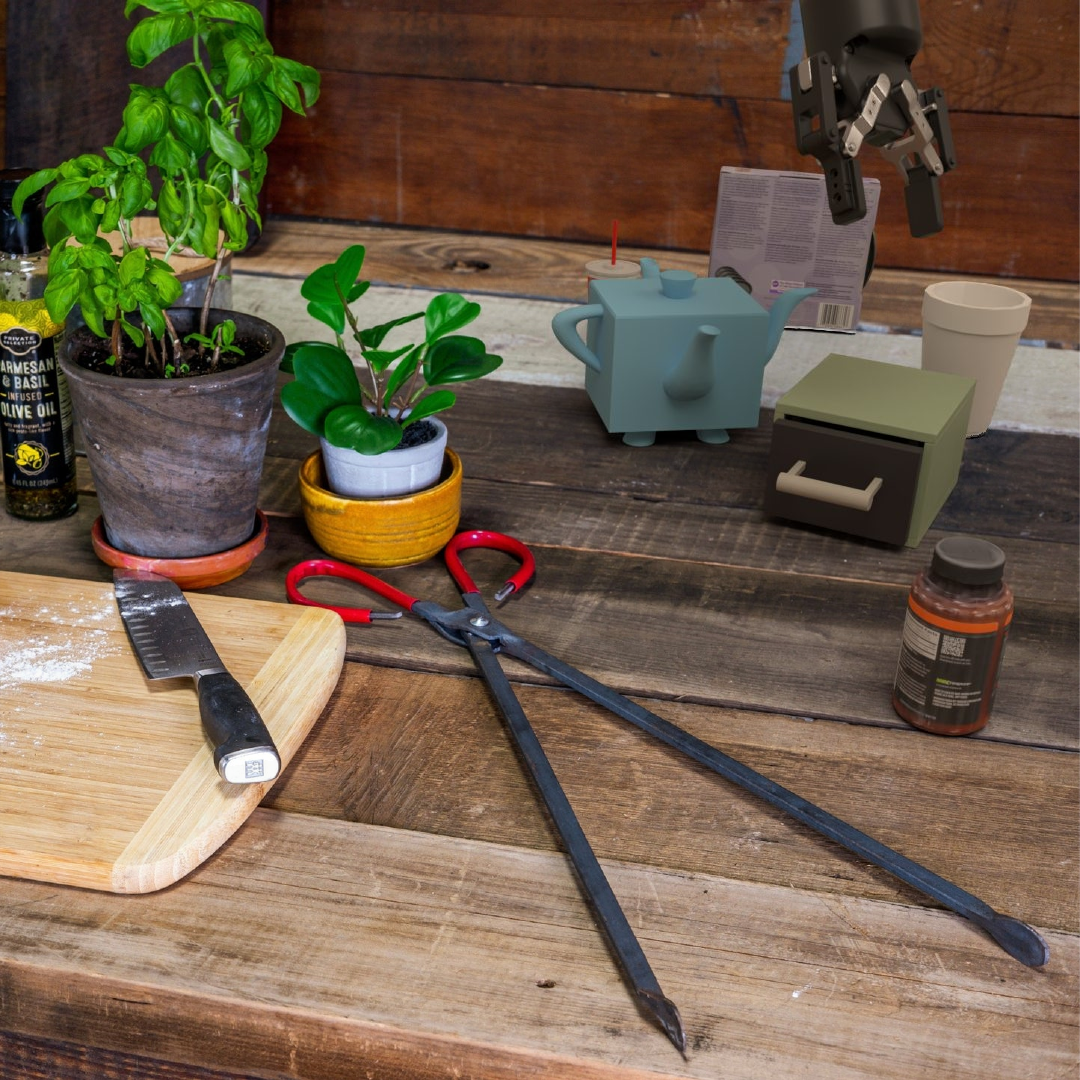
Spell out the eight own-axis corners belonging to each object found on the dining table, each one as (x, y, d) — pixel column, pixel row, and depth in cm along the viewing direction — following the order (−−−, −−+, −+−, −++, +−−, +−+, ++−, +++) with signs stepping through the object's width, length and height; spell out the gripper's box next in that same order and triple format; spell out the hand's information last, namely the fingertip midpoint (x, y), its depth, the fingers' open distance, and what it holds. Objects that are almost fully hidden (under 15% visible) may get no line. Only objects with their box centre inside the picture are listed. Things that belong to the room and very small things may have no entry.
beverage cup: (616, 358, 137) (623, 229, 131) (570, 346, 140) (575, 220, 134) (646, 344, 142) (655, 219, 135) (602, 333, 145) (608, 211, 139)
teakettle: (533, 430, 118) (537, 275, 111) (638, 377, 132) (647, 237, 125) (711, 482, 108) (726, 316, 102) (804, 419, 122) (823, 270, 115)
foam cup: (931, 447, 117) (955, 311, 111) (886, 411, 125) (907, 282, 119) (1023, 441, 119) (1052, 307, 113) (973, 407, 127) (998, 280, 121)
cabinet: (916, 549, 98) (937, 434, 94) (762, 512, 103) (775, 402, 99) (956, 483, 109) (977, 378, 105) (816, 453, 115) (830, 352, 110)
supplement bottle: (961, 682, 81) (994, 524, 76) (1007, 736, 76) (1046, 571, 71) (874, 688, 80) (902, 530, 75) (914, 744, 75) (947, 577, 70)
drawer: (887, 571, 92) (904, 475, 89) (741, 535, 97) (752, 441, 94) (943, 485, 107) (960, 398, 103) (814, 456, 112) (825, 373, 108)
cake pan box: (864, 324, 151) (886, 173, 143) (866, 336, 147) (889, 182, 139) (704, 311, 154) (717, 163, 146) (701, 323, 149) (715, 171, 141)
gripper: (834, -62, 76) (872, 197, 75) (965, -11, 85) (1000, 221, 84) (742, -5, 82) (776, 236, 81) (874, 37, 91) (906, 255, 90)
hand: (890, 228), depth 83 cm, fingers open, 8 cm apart
